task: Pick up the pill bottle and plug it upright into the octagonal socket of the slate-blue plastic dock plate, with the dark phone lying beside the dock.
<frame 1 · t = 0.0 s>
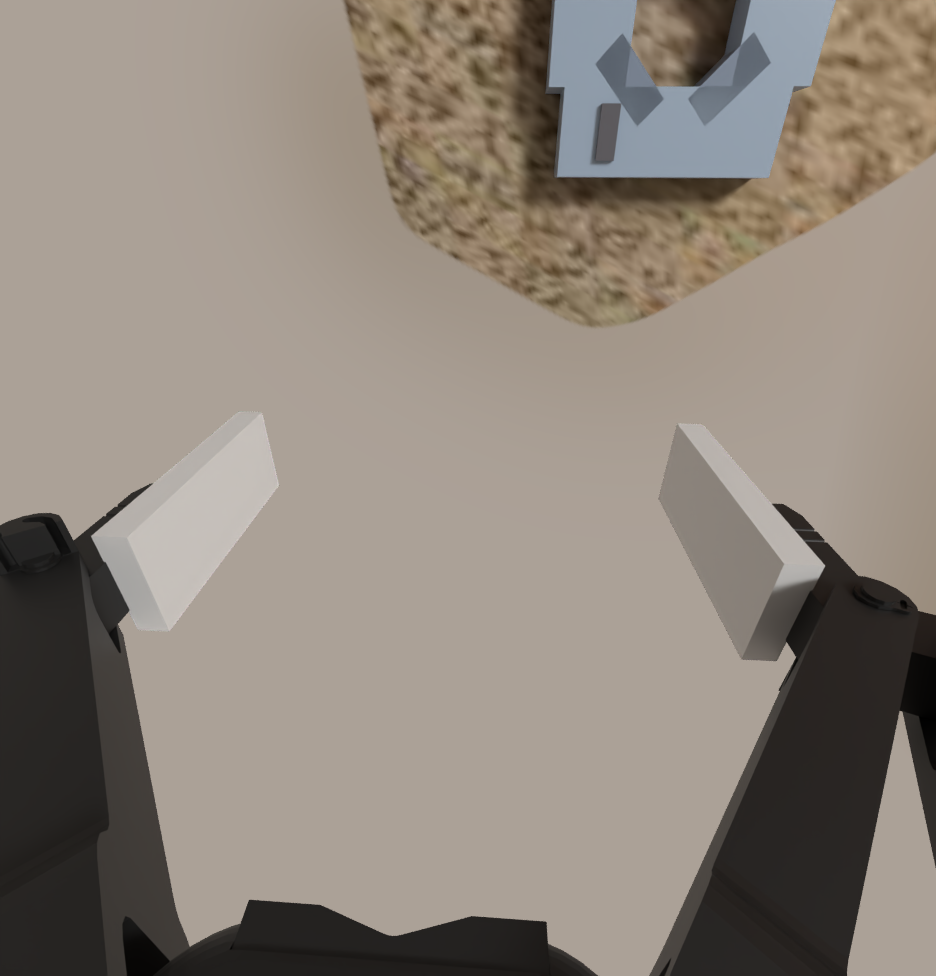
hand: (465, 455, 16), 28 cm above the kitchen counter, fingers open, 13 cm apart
dock: (677, 27, 31), on the kitchen counter
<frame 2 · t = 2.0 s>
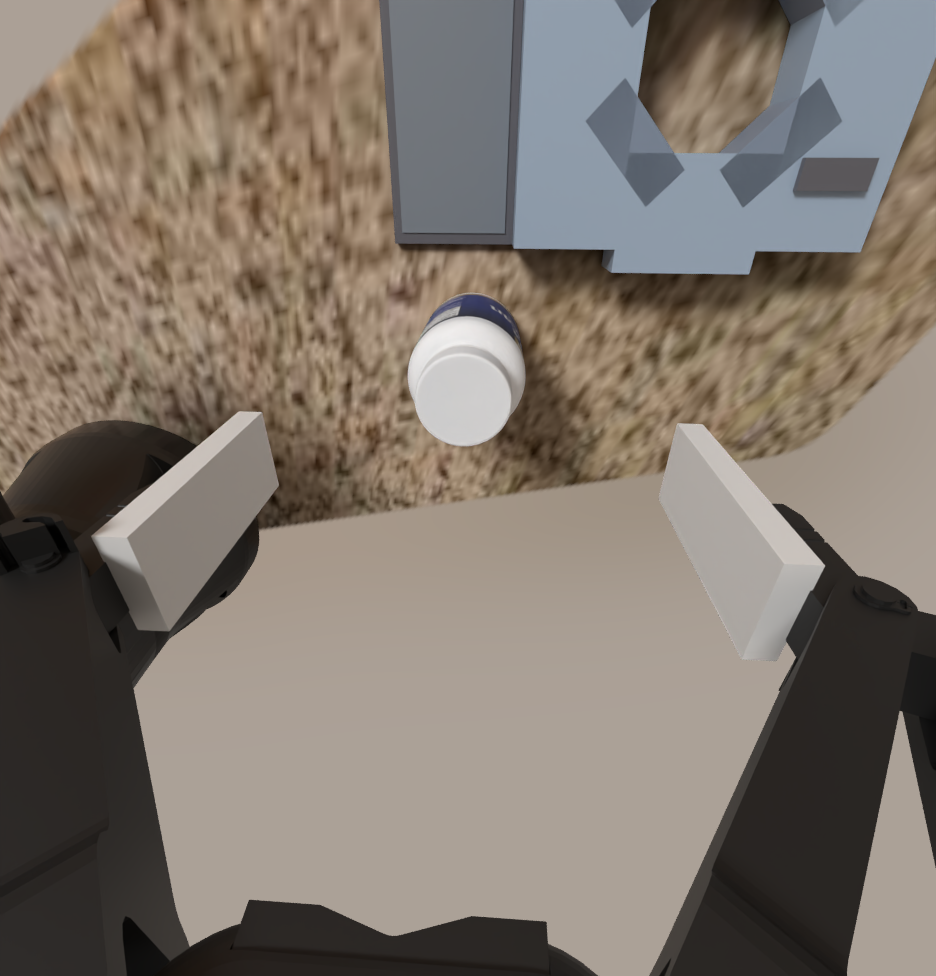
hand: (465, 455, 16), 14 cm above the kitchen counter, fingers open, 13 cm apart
dock: (703, 66, 21), on the kitchen counter
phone: (453, 98, 23), on the kitchen counter
pill bottle: (472, 339, 28), on the kitchen counter
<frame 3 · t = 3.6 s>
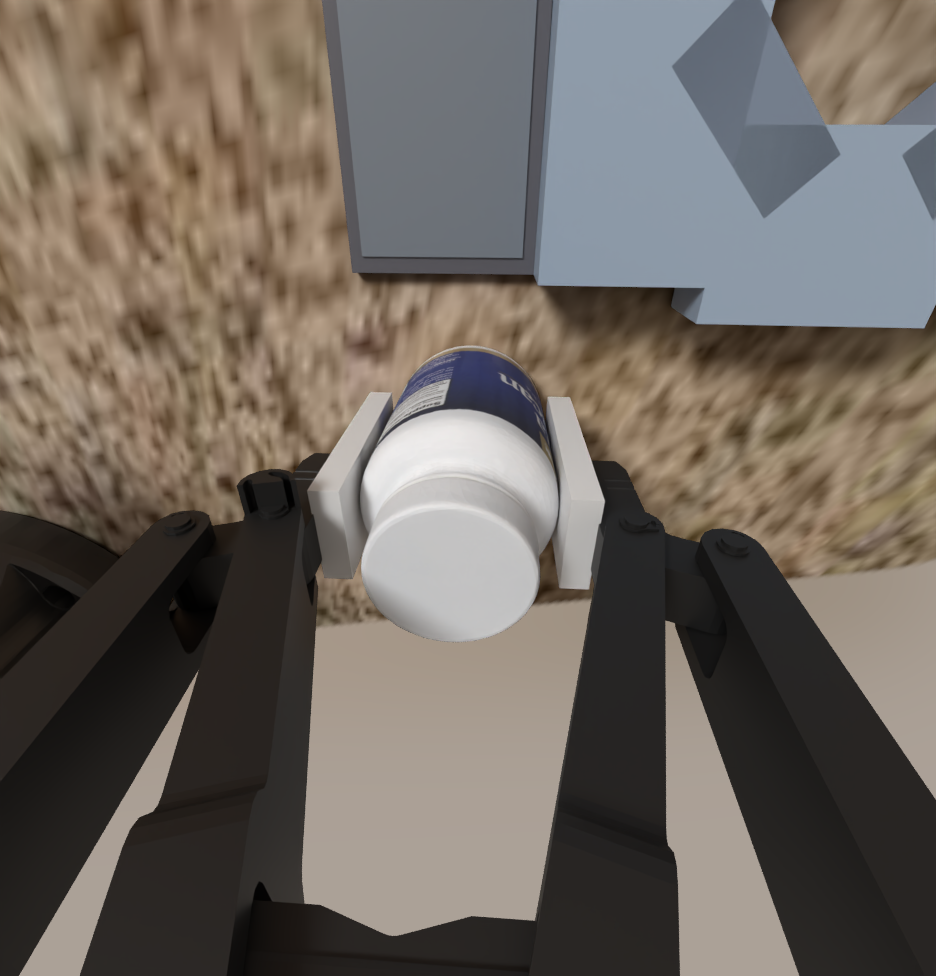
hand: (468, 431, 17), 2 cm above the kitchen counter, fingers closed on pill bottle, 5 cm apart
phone: (440, 38, 14), on the kitchen counter
pill bottle: (471, 409, 19), on the kitchen counter, touching gripper
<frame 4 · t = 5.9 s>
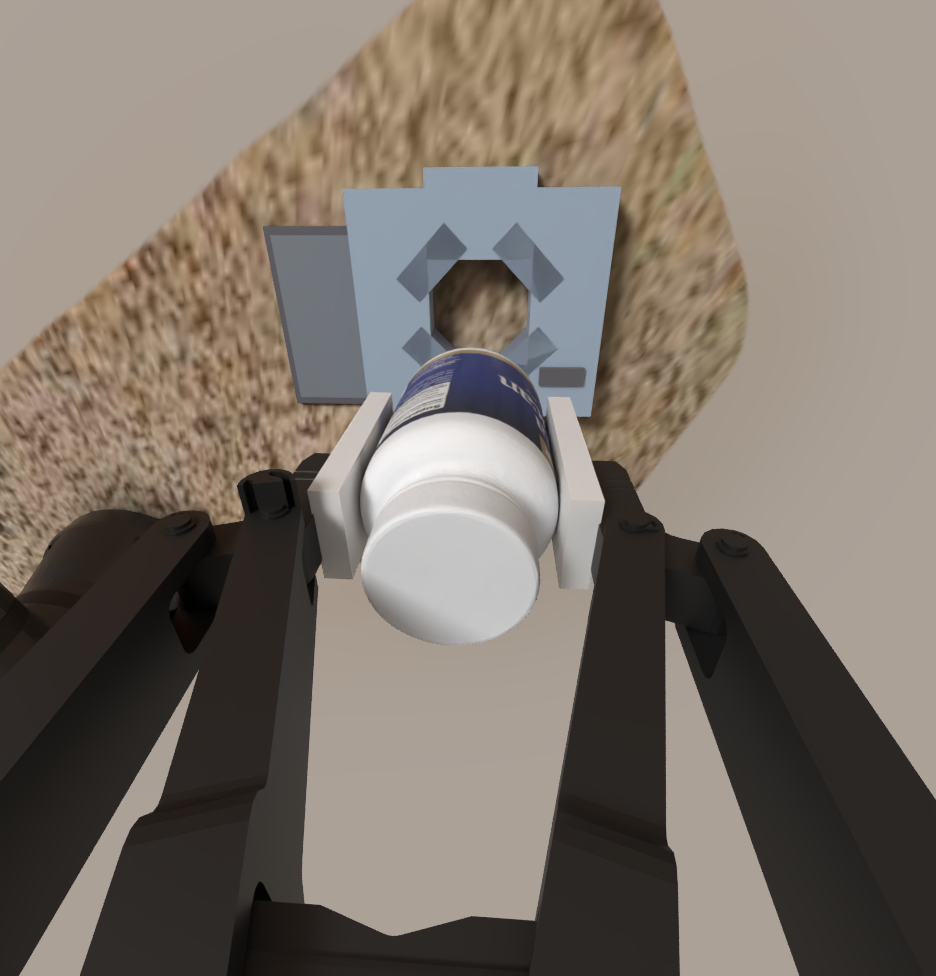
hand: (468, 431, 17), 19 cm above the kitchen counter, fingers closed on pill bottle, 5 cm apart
dock: (480, 307, 34), on the kitchen counter
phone: (327, 319, 35), on the kitchen counter
pill bottle: (471, 411, 19), point 17 cm above the kitchen counter, touching gripper
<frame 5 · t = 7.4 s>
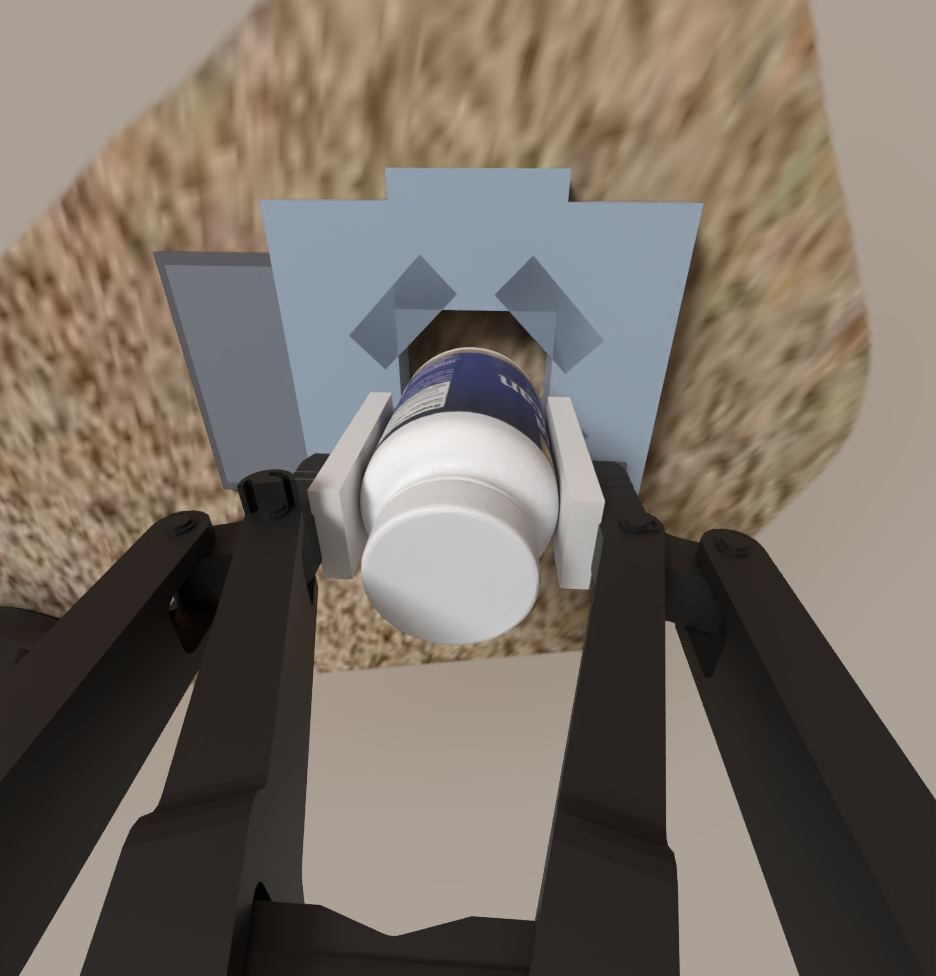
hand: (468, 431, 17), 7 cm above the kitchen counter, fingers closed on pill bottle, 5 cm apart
dock: (476, 370, 23), on the kitchen counter
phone: (260, 380, 25), on the kitchen counter
pill bottle: (472, 410, 19), point 5 cm above the kitchen counter, touching gripper
when the fingers open (3 cm above the kitchen counter, at t = 8.5 s): pill bottle drops 1 cm, resting in dock.
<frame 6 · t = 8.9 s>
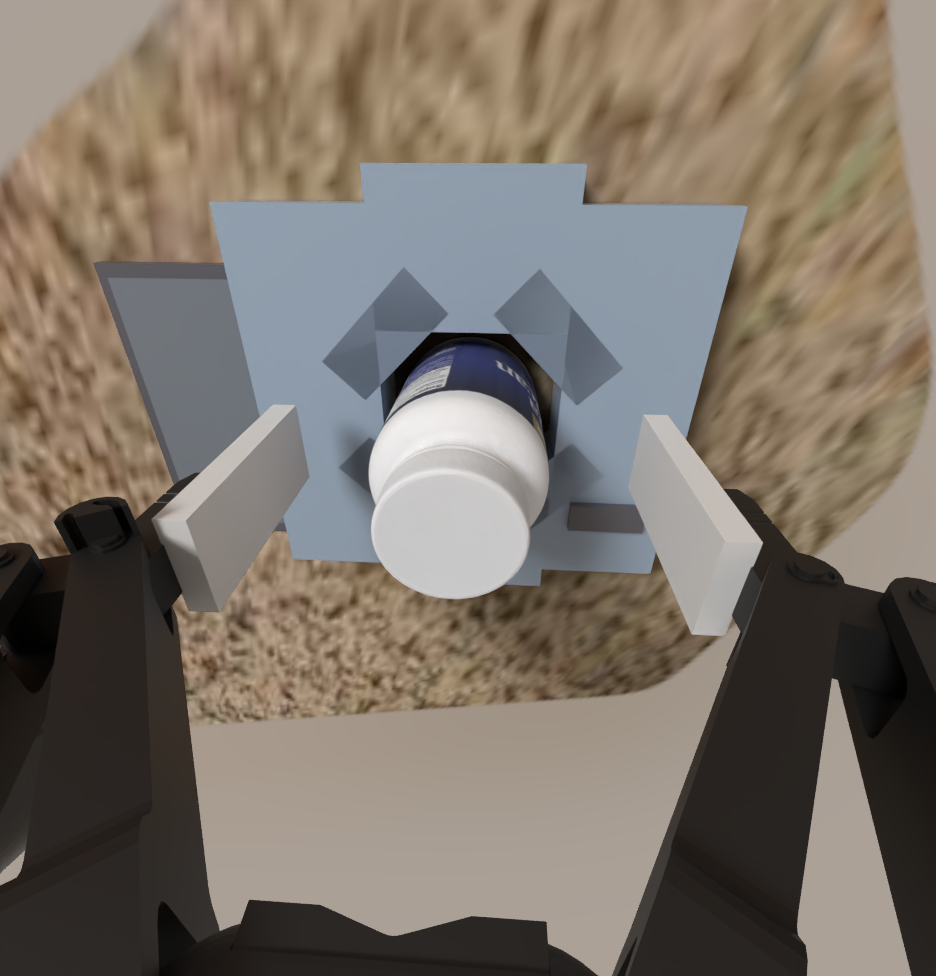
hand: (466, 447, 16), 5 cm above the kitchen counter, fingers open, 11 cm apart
dock: (473, 397, 20), on the kitchen counter
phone: (227, 407, 22), on the kitchen counter
pill bottle: (471, 397, 20), resting in dock
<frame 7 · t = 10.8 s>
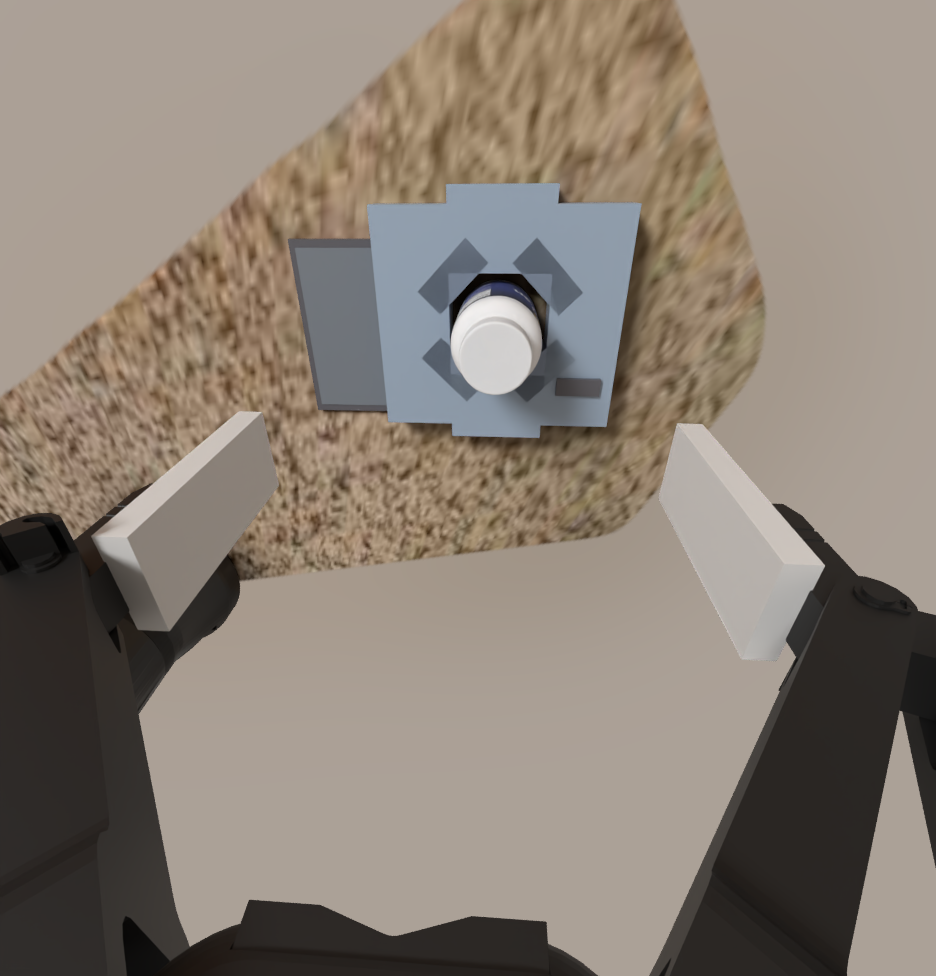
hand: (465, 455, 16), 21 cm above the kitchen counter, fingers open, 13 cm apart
dock: (499, 318, 34), on the kitchen counter
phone: (348, 329, 36), on the kitchen counter
pill bottle: (497, 318, 34), resting in dock
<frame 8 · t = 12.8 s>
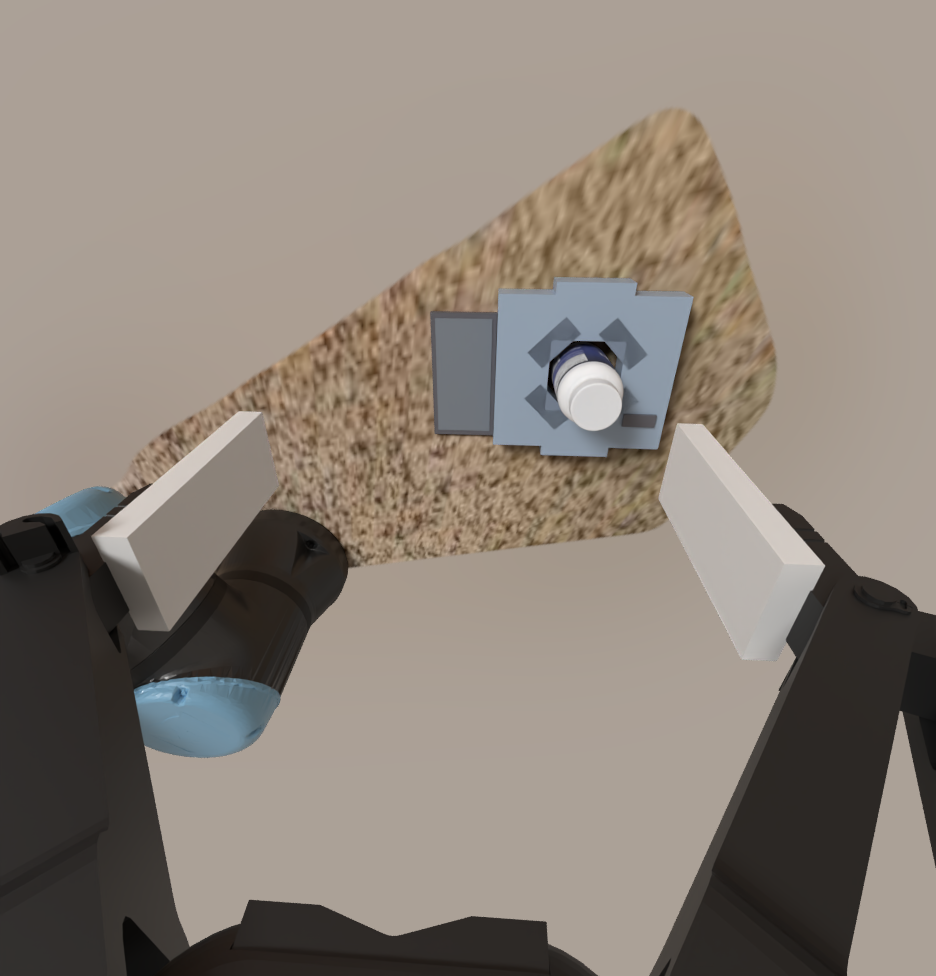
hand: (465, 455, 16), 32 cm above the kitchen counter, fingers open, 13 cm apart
dock: (580, 368, 46), on the kitchen counter
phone: (464, 374, 48), on the kitchen counter
pill bottle: (578, 368, 46), resting in dock
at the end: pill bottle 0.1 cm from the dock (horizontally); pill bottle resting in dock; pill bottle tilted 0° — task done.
